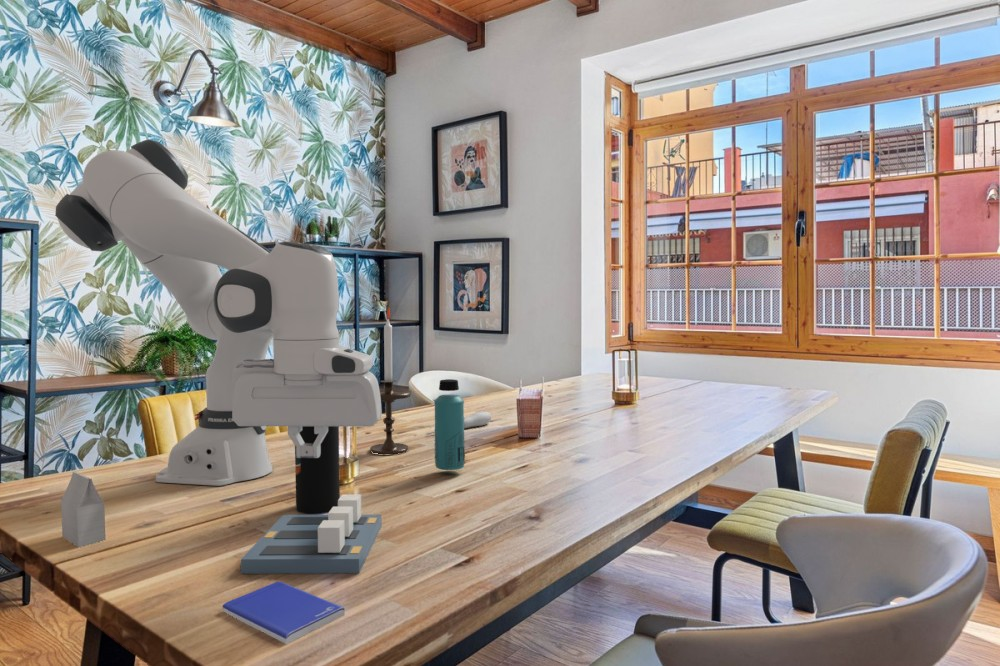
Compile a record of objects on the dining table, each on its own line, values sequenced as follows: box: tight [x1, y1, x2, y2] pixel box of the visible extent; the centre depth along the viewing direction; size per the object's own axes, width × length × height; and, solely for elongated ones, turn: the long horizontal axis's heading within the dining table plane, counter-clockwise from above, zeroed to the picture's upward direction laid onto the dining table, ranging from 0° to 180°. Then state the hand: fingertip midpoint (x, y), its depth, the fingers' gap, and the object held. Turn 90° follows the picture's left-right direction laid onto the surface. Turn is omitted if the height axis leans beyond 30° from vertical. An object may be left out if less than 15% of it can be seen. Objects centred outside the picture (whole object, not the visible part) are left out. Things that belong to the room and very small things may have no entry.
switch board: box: [240, 514, 383, 575], centre depth 98 cm, size 16×18×2 cm
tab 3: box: [318, 520, 345, 553], centre depth 92 cm, size 3×3×4 cm
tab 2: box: [327, 507, 353, 537], centre depth 98 cm, size 3×3×4 cm
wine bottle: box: [294, 426, 341, 515], centre depth 116 cm, size 8×8×30 cm
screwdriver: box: [425, 411, 492, 436], centre depth 184 cm, size 5×25×4 cm, turn 137°
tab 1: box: [338, 493, 362, 522], centre depth 104 cm, size 3×3×4 cm
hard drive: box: [222, 581, 346, 645], centre depth 78 cm, size 2×8×12 cm
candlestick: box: [369, 306, 412, 455], centre depth 158 cm, size 11×11×35 cm
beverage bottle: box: [433, 378, 466, 471], centre depth 139 cm, size 6×7×20 cm
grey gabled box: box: [60, 471, 107, 548], centre depth 101 cm, size 4×7×10 cm, turn 51°
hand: (308, 457), depth 92 cm, fingers closed
